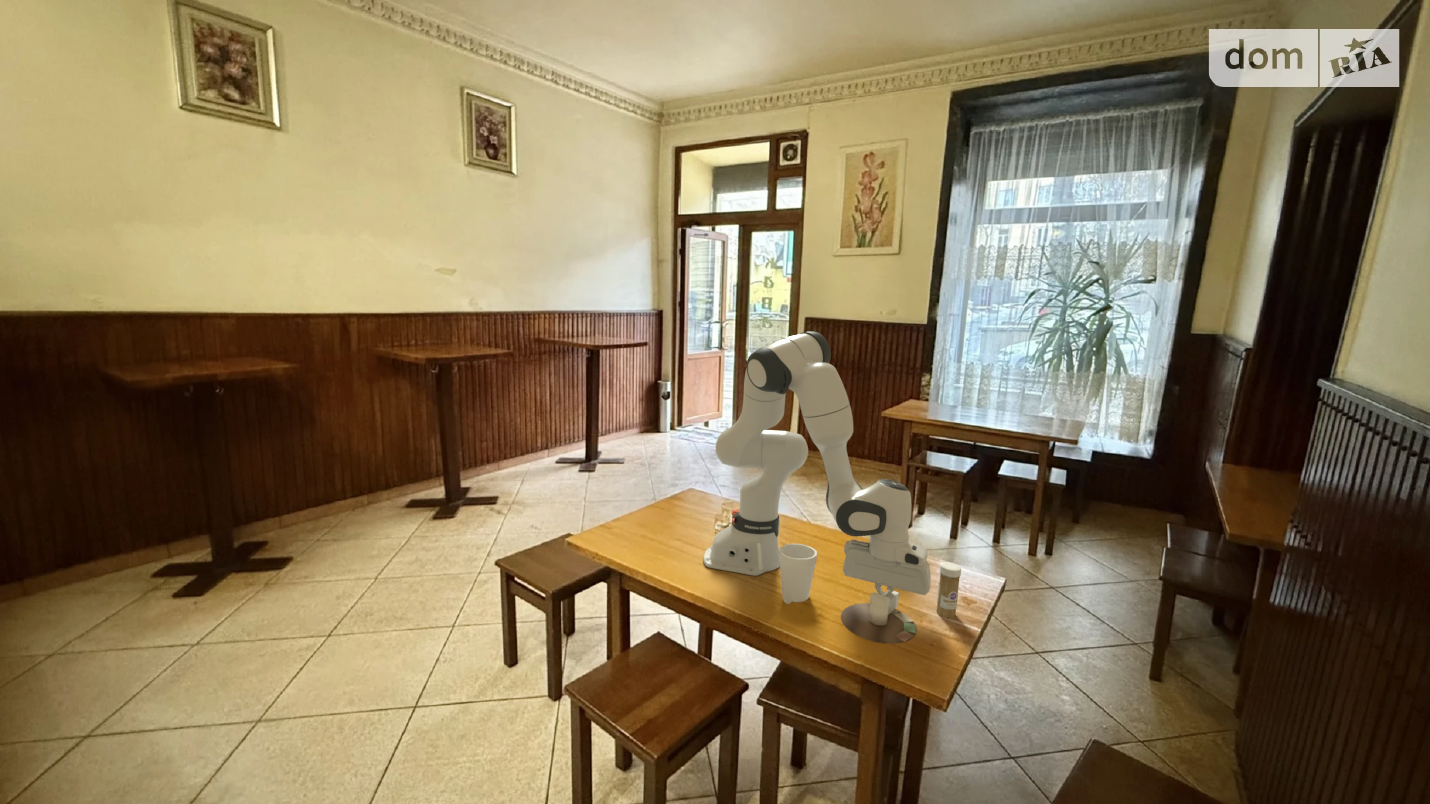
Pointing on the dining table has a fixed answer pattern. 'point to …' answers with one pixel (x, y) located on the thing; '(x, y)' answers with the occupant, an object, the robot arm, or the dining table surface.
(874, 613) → the cream toy mallet
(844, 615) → the dial
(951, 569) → the sprinkles bottle
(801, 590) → the foam cup
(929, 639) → the dining table surface
